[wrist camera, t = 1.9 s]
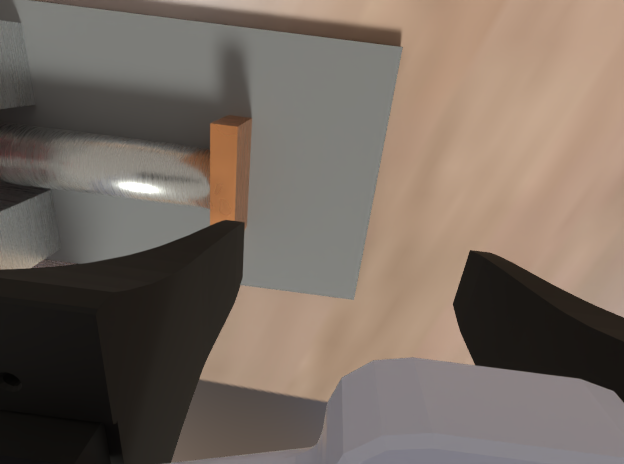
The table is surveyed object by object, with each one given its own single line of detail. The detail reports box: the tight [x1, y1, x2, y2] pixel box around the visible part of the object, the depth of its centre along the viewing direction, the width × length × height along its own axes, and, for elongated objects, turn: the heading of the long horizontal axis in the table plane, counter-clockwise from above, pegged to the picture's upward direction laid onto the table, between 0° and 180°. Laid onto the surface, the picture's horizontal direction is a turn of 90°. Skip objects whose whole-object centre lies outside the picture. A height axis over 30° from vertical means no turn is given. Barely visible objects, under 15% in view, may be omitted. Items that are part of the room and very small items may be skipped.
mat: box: [0, 0, 403, 300], centre depth 20 cm, size 14×26×1 cm, turn 84°
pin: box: [0, 115, 252, 231], centre depth 19 cm, size 12×6×3 cm, turn 84°
